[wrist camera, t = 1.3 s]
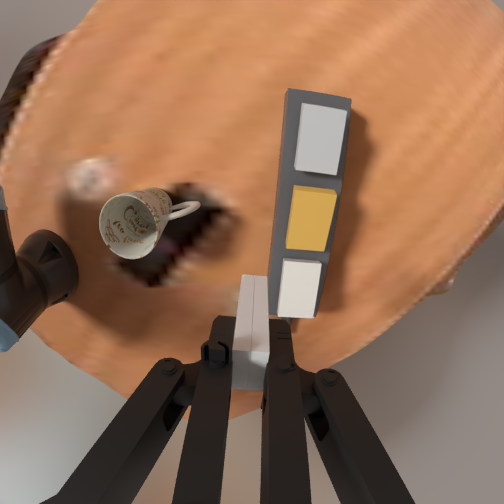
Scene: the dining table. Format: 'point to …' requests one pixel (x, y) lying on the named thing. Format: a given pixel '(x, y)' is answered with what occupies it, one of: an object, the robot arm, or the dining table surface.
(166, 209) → the mug
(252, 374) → the robot arm
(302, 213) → the block
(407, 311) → the dining table surface
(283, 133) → the power strip
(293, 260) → the block
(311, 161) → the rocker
